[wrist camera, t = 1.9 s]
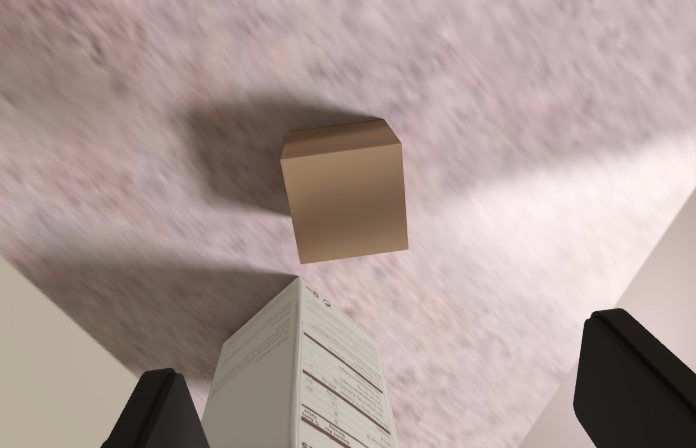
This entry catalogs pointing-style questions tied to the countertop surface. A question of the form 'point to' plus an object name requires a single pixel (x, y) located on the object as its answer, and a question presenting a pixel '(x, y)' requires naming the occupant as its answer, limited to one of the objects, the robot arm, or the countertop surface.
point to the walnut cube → (345, 190)
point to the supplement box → (299, 380)
